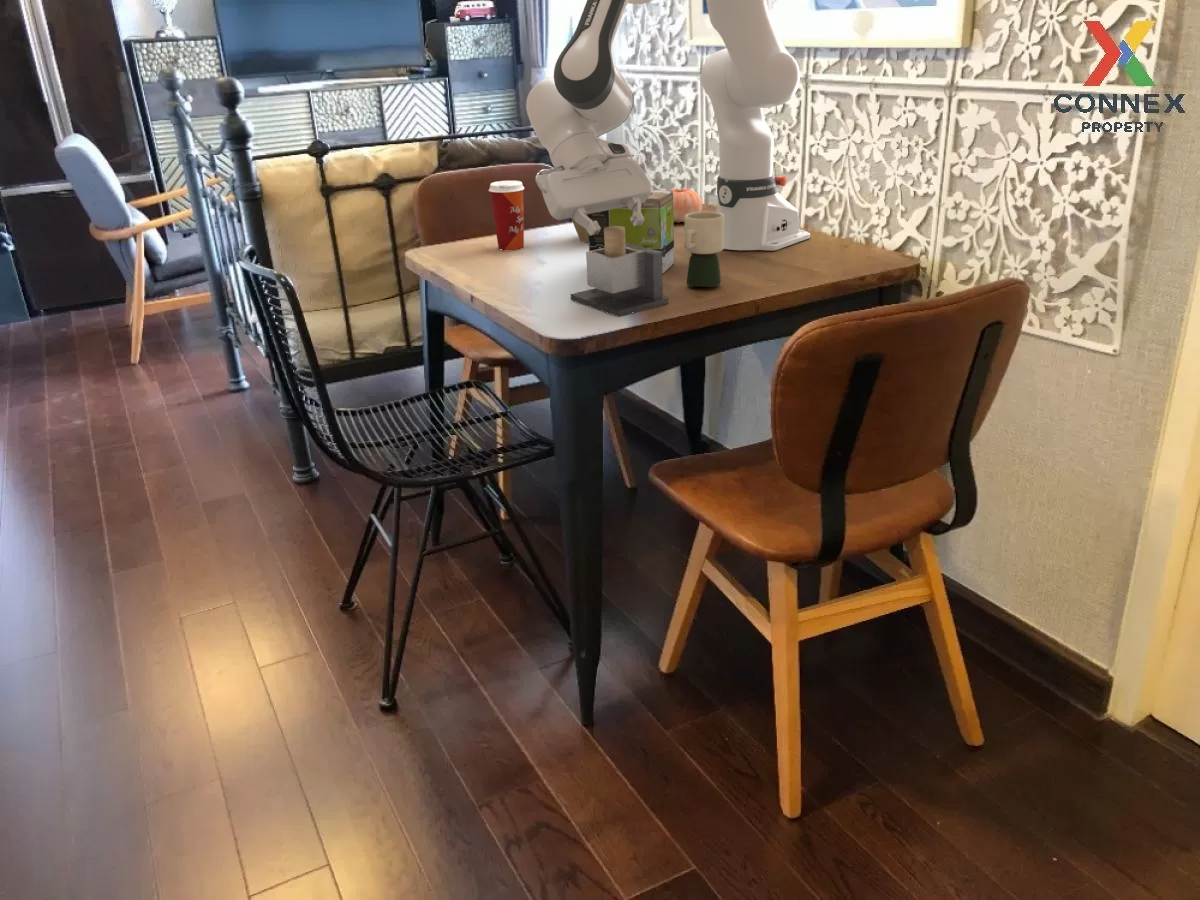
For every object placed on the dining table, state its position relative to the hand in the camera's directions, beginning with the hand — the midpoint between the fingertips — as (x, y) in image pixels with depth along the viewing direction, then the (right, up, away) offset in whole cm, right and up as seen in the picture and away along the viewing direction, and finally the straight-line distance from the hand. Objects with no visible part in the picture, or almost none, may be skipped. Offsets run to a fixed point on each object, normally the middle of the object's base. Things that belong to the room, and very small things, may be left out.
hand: (618, 228), depth 159 cm
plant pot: (-4, +10, +52) cm, 53 cm away
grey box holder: (0, -12, +6) cm, 13 cm away
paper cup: (-23, +7, +48) cm, 53 cm away
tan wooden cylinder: (0, -8, +4) cm, 9 cm away
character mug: (+16, -8, +13) cm, 22 cm away
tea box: (+3, -2, +28) cm, 28 cm away
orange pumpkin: (+16, +17, +66) cm, 70 cm away
